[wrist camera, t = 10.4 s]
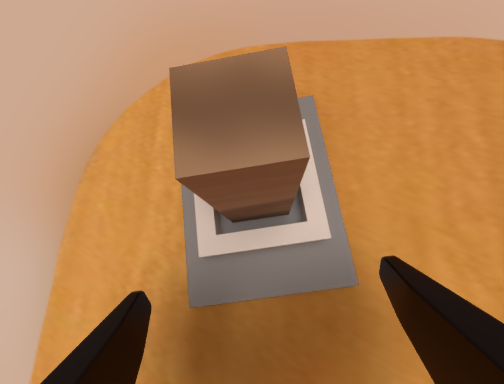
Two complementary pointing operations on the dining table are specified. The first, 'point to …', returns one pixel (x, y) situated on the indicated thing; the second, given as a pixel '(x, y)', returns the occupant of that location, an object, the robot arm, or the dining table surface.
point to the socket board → (271, 239)
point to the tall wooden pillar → (239, 133)
